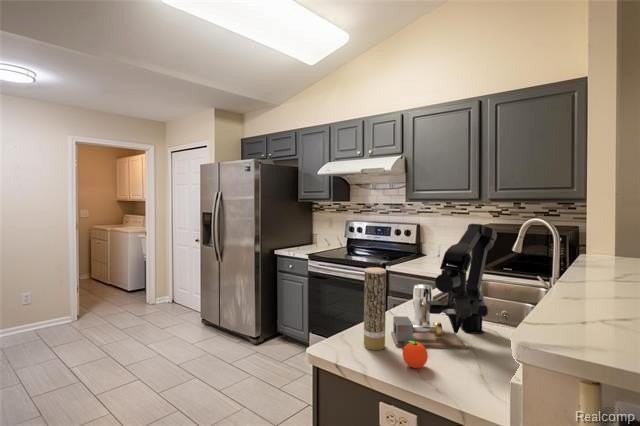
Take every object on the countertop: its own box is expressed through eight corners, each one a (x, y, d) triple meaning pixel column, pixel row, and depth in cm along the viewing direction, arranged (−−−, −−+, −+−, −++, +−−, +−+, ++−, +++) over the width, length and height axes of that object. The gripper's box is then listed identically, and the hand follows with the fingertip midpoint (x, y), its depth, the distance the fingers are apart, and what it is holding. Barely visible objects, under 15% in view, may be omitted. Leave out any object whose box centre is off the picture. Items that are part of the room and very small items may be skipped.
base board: (454, 335, 121) (454, 333, 121) (465, 348, 111) (465, 345, 111) (391, 334, 122) (391, 331, 122) (396, 346, 112) (396, 343, 112)
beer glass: (433, 330, 126) (433, 289, 125) (413, 328, 127) (414, 288, 127) (430, 323, 133) (431, 284, 132) (412, 321, 134) (412, 283, 133)
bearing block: (407, 333, 120) (407, 316, 120) (412, 342, 112) (413, 325, 112) (393, 332, 121) (393, 316, 120) (397, 342, 113) (397, 324, 112)
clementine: (394, 362, 101) (395, 338, 101) (412, 357, 104) (412, 334, 104) (414, 375, 94) (415, 349, 94) (432, 369, 97) (433, 344, 97)
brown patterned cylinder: (389, 346, 112) (390, 269, 111) (377, 353, 107) (378, 273, 106) (371, 340, 117) (372, 266, 116) (359, 346, 112) (360, 269, 111)
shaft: (438, 333, 118) (438, 320, 118) (442, 339, 114) (442, 325, 113) (402, 333, 119) (403, 319, 119) (405, 338, 114) (405, 324, 114)
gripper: (435, 292, 107) (434, 342, 108) (496, 294, 106) (495, 343, 107) (425, 283, 118) (424, 328, 119) (481, 284, 118) (480, 329, 118)
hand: (455, 332), depth 116 cm, fingers closed
